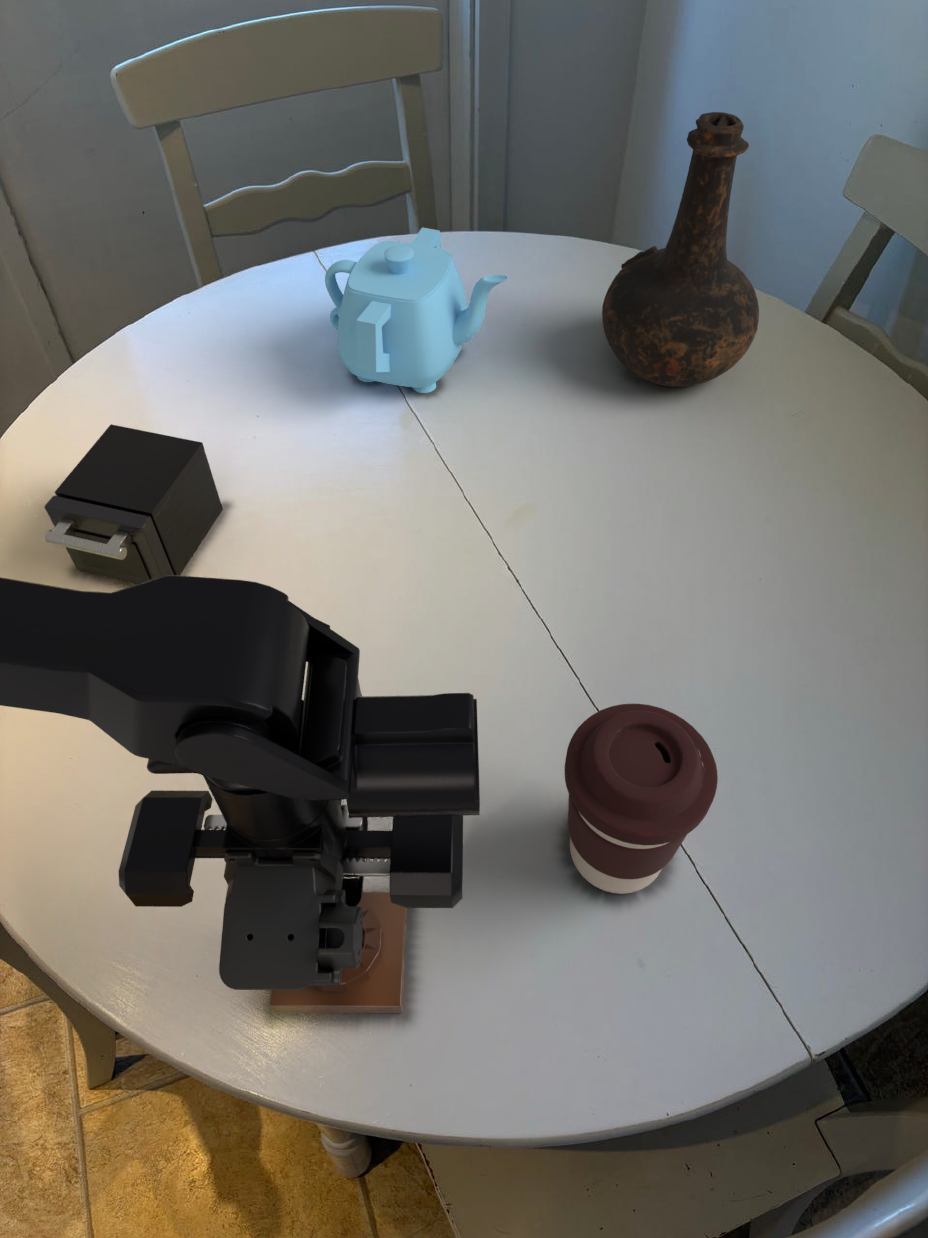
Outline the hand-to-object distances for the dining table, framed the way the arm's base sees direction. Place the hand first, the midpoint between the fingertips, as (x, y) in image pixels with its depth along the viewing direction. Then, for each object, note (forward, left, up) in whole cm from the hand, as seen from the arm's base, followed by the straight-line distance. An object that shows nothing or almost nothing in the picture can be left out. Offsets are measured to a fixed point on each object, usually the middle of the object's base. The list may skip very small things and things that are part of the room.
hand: (318, 901), depth 57 cm
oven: (-3, +47, -10) cm, 48 cm away
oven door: (-8, +42, -10) cm, 44 cm away
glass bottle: (+59, +51, -10) cm, 79 cm away
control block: (0, 0, -10) cm, 10 cm away
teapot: (+31, +63, -10) cm, 71 cm away
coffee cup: (+22, -1, -10) cm, 24 cm away
